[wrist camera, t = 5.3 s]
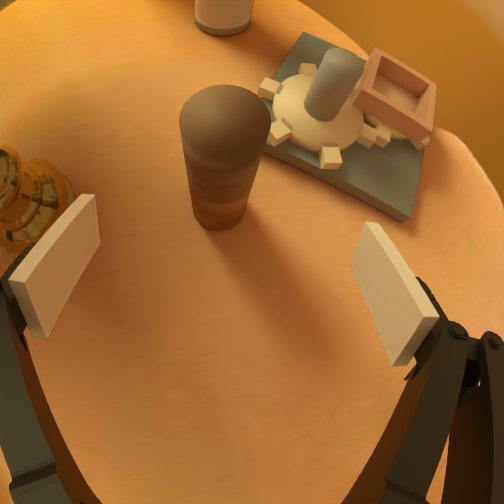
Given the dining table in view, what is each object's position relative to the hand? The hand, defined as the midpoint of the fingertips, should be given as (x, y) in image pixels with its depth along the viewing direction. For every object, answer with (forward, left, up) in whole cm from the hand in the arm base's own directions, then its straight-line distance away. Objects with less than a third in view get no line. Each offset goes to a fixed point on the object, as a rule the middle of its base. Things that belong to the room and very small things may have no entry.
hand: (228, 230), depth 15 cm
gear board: (+5, +18, -9) cm, 21 cm away
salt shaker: (-15, -3, -10) cm, 18 cm away
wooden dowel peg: (-2, +4, -9) cm, 10 cm away
